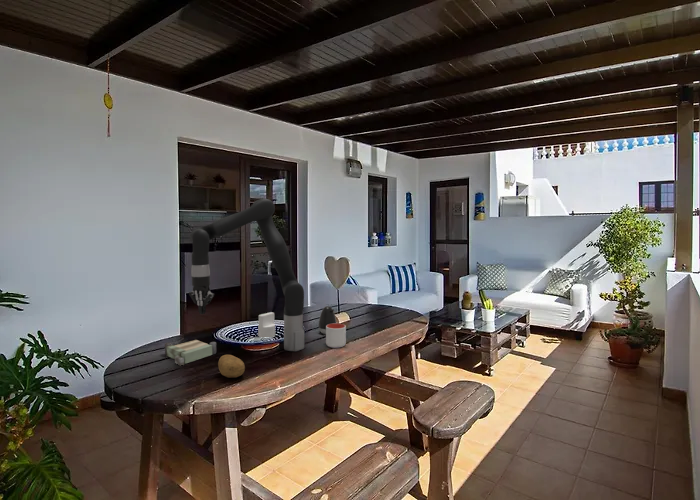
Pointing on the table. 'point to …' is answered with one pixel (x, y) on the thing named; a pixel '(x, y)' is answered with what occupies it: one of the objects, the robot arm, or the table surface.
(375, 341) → the table surface
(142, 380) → the table surface
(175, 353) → the stool top
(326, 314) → the dark grey rounded piece
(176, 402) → the table surface
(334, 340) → the cup
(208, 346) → the leg
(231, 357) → the potato
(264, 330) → the base with upright slab
